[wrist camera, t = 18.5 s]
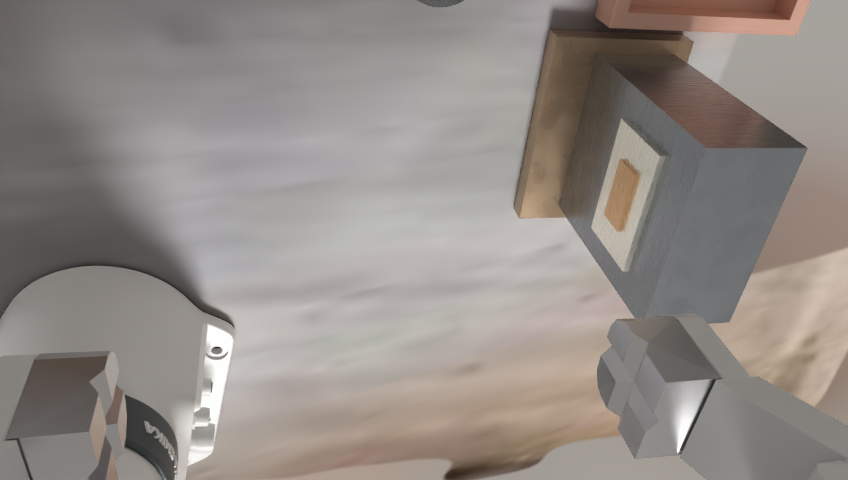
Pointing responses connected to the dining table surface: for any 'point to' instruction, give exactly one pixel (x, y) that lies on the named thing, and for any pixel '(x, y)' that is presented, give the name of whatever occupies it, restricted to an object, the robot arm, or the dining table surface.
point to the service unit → (654, 170)
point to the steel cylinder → (440, 2)
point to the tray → (705, 15)
